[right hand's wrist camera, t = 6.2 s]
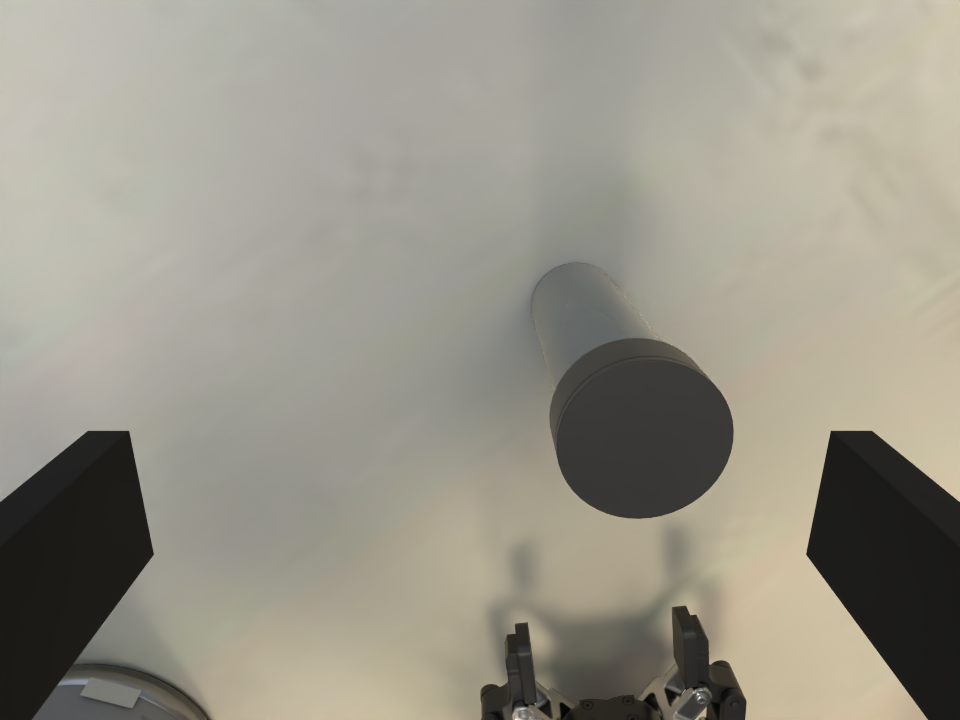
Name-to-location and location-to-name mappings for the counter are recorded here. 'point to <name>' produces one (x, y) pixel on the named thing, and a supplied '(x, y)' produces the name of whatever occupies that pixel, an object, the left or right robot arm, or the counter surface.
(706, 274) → the counter surface
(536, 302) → the grey cylinder
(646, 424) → the lid
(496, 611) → the counter surface
